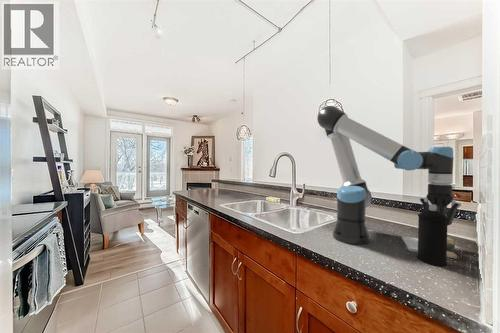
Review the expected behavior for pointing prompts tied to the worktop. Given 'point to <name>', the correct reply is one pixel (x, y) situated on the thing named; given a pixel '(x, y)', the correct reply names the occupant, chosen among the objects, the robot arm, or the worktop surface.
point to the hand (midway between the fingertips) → (438, 240)
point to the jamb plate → (411, 243)
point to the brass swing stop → (449, 240)
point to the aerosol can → (432, 237)
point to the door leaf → (451, 250)
